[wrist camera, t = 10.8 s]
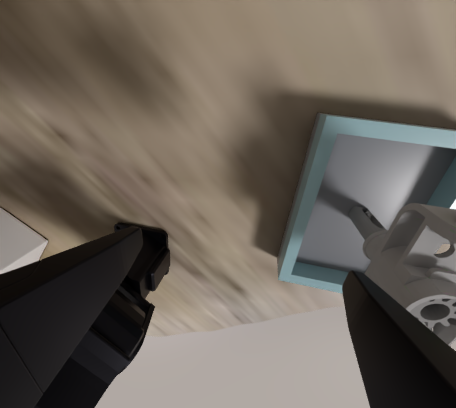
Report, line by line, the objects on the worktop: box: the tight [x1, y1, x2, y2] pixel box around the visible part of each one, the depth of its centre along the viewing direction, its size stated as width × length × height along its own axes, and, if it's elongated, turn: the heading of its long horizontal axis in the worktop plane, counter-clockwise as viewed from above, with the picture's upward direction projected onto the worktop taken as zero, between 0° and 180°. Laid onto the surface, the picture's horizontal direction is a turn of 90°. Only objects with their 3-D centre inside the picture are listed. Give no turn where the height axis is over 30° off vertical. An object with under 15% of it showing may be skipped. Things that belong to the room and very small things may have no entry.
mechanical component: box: [349, 203, 456, 346], centre depth 14 cm, size 3×10×10 cm, turn 174°
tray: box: [277, 113, 456, 293], centre depth 18 cm, size 11×15×3 cm
